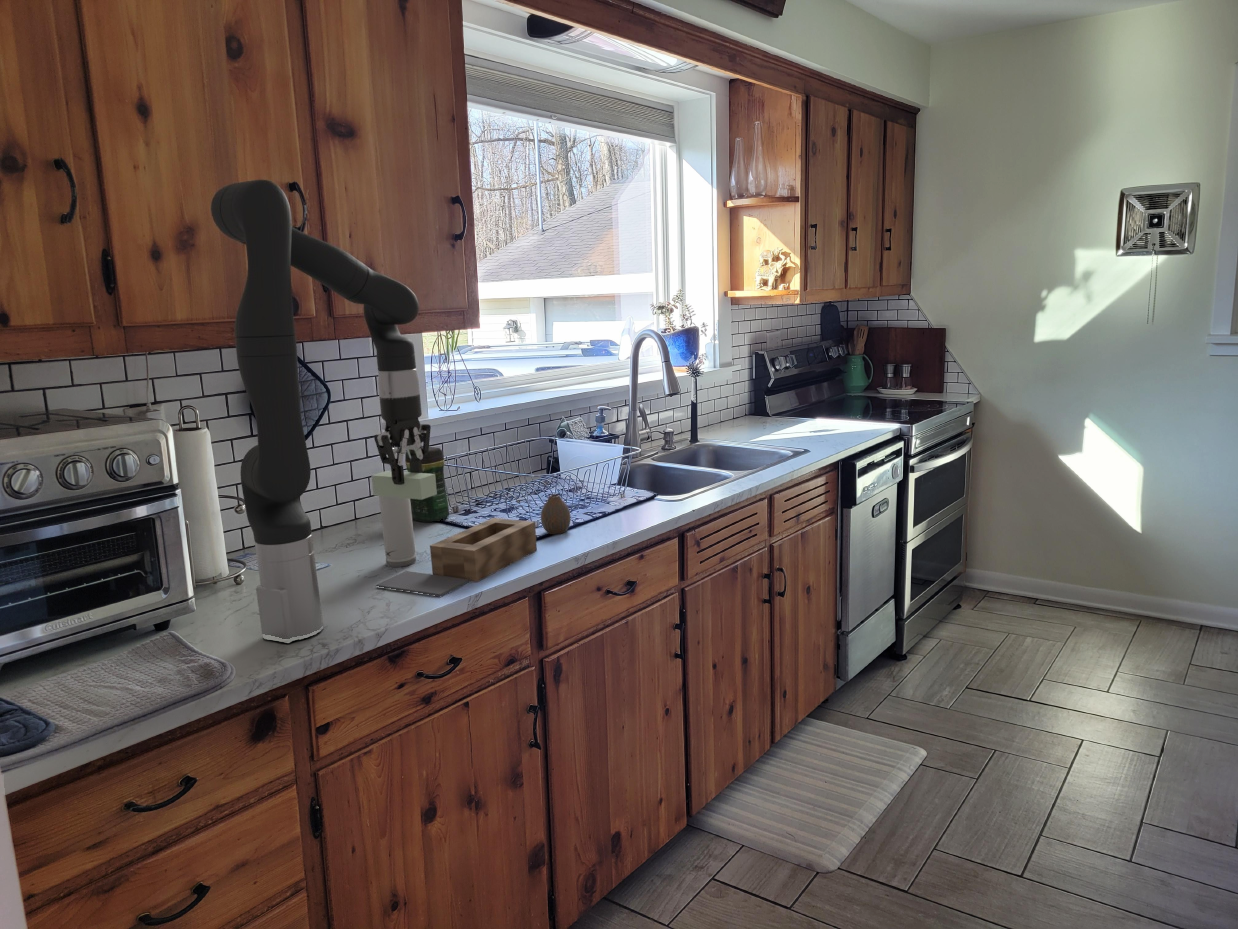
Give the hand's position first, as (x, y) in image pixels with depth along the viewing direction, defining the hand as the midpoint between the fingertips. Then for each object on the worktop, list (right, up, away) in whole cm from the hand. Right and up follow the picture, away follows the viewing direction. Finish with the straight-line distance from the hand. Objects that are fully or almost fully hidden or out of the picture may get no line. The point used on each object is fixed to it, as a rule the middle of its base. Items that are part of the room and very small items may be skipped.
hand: (408, 480), depth 178 cm
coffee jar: (-7, -11, +55) cm, 56 cm away
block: (-1, -3, +1) cm, 3 cm away
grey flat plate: (+2, -21, +4) cm, 21 cm away
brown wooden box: (+13, -18, +16) cm, 27 cm away
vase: (+26, -13, +37) cm, 47 cm away
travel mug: (-6, -18, +19) cm, 27 cm away
